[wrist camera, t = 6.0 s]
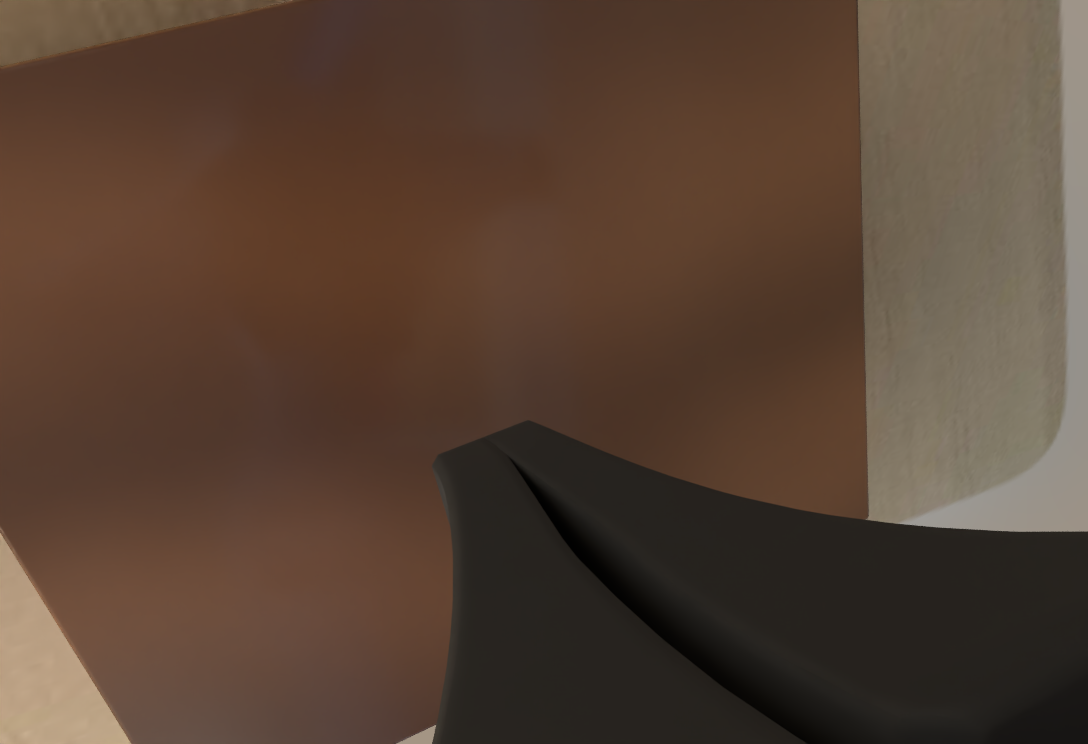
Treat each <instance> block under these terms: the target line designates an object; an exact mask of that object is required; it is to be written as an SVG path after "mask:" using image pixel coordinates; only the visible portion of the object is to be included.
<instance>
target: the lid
mask: <svg viewBox="0 0 1088 744" xmlns="http://www.w3.org/2000/svg"><path fill="white" fill-rule="evenodd" d="M527 420H530V421H532V422H535V423H538V424H540V425H542V426H545V427H547V428H550V429H552V430H554V431H557V432H559V433H561V434H564V435H566V436H568V437H571V438H573V439H576V440H578V441H580V442H583V443H585V444H588V445H590V446H592V447H595V448H597V449H600V450H602V451H605V452H607V453H610V454H612V455H614V456H617V457H620V458H622V459H625V460H627V461H630V462H633V463H635V464H638V465H641V466H643V467H646V468H649V469H652V470H655V471H658V472H660V473H663V474H666V475H669V476H672V477H675V478H678V479H682V480H685V481H688V482H691V483H695V484H698V485H701V486H704V487H708V488H711V489H714V490H718V491H721V492H725V493H729V494H733V495H736V496H740V497H744V498H749V499H753V500H758V501H762V502H767V503H771V504H776V505H780V506H785V507H789V508H794V509H799V510H804V511H810V512H816V513H822V514H827V515H834V516H841V517H849V518H856V519H863V520H865V519H867V518H868V516H869V510H868V464H867V418H866V372H865V326H864V280H863V234H862V188H861V141H860V95H859V49H858V3H857V0H293V1H288V2H284V3H279V4H275V5H271V6H266V7H262V8H257V9H253V10H248V11H244V12H240V13H235V14H231V15H226V16H222V17H217V18H213V19H209V20H204V21H200V22H195V23H191V24H187V25H182V26H178V27H173V28H169V29H164V30H160V31H156V32H151V33H147V34H142V35H138V36H134V37H129V38H125V39H120V40H116V41H111V42H107V43H103V44H98V45H94V46H89V47H85V48H81V49H76V50H72V51H67V52H63V53H58V54H54V55H50V56H45V57H41V58H36V59H32V60H28V61H23V62H19V63H14V64H10V65H5V66H1V67H0V533H1V534H2V536H3V538H4V539H5V541H6V542H7V544H8V546H9V547H10V549H11V550H12V552H13V554H14V555H15V557H16V559H17V560H18V562H19V563H20V565H21V567H22V568H23V570H24V571H25V573H26V575H27V576H28V578H29V579H30V581H31V583H32V584H33V586H34V588H35V589H36V591H37V592H38V594H39V596H40V597H41V599H42V600H43V602H44V604H45V605H46V607H47V608H48V610H49V612H50V613H51V615H52V616H53V618H54V620H55V621H56V623H57V625H58V626H59V628H60V629H61V631H62V633H63V634H64V636H65V637H66V639H67V641H68V642H69V644H70V645H71V647H72V649H73V650H74V652H75V654H76V655H77V657H78V658H79V660H80V662H81V663H82V665H83V666H84V668H85V670H86V671H87V673H88V674H89V676H90V678H91V679H92V681H93V682H94V684H95V686H96V687H97V689H98V691H99V692H100V694H101V695H102V697H103V699H104V700H105V702H106V703H107V705H108V707H109V708H110V710H111V711H112V713H113V715H114V716H115V718H116V720H117V721H118V723H119V724H120V726H121V728H122V729H123V731H124V732H125V734H126V736H127V737H128V739H129V740H130V742H131V744H396V743H398V742H400V741H403V740H405V739H406V738H409V737H411V736H413V735H415V734H417V733H419V732H421V731H424V730H426V729H428V728H430V727H432V726H434V725H436V724H437V719H438V714H439V709H440V703H441V697H442V691H443V685H444V680H445V674H446V667H447V659H448V651H449V642H450V632H451V619H452V602H453V551H452V539H451V529H450V525H449V521H448V518H447V515H446V511H445V508H444V505H443V502H442V498H441V495H440V492H439V488H438V485H437V482H436V479H435V475H434V472H433V469H432V464H433V462H434V461H435V459H436V457H437V455H438V454H441V453H443V452H446V451H449V450H451V449H454V448H456V447H459V446H462V445H464V444H467V443H469V442H472V441H475V440H477V439H480V438H482V437H485V436H488V435H490V434H493V433H495V432H498V431H501V430H503V429H506V428H508V427H511V426H514V425H516V424H519V423H521V422H524V421H527Z"/></svg>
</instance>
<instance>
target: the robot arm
mask: <svg viewBox="0 0 1088 744" xmlns="http://www.w3.org/2000/svg"><path fill="white" fill-rule="evenodd" d="M432 469H433V472H434V475H435V479H436V482H437V485H438V488H439V492H440V495H441V498H442V502H443V505H444V508H445V511H446V515H447V518H448V521H449V525H450V529H451V539H452V551H453V602H452V619H451V632H450V642H449V651H448V659H447V667H446V674H445V680H444V685H443V691H442V697H441V703H440V709H439V714H438V719H437V724H436V729H435V734H434V739H433V742H432V744H1088V532H1008V531H988V530H971V529H970V530H969V529H953V528H936V527H925V526H914V525H904V524H894V523H885V522H878V521H870V520H863V519H856V518H849V517H841V516H834V515H827V514H822V513H816V512H810V511H804V510H799V509H794V508H789V507H785V506H780V505H776V504H771V503H767V502H762V501H758V500H753V499H749V498H744V497H740V496H736V495H733V494H729V493H725V492H721V491H718V490H714V489H711V488H708V487H704V486H701V485H698V484H695V483H691V482H688V481H685V480H682V479H678V478H675V477H672V476H669V475H666V474H663V473H660V472H658V471H655V470H652V469H649V468H646V467H643V466H641V465H638V464H635V463H633V462H630V461H627V460H625V459H622V458H620V457H617V456H614V455H612V454H610V453H607V452H605V451H602V450H600V449H597V448H595V447H592V446H590V445H588V444H585V443H583V442H580V441H578V440H576V439H573V438H571V437H568V436H566V435H564V434H561V433H559V432H557V431H554V430H552V429H550V428H547V427H545V426H542V425H540V424H538V423H535V422H532V421H530V420H527V421H524V422H521V423H519V424H516V425H514V426H511V427H508V428H506V429H503V430H501V431H498V432H495V433H493V434H490V435H488V436H485V437H482V438H480V439H477V440H475V441H472V442H469V443H467V444H464V445H462V446H459V447H456V448H454V449H451V450H449V451H446V452H443V453H441V454H438V455H437V457H436V459H435V461H434V462H433V464H432Z"/></svg>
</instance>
